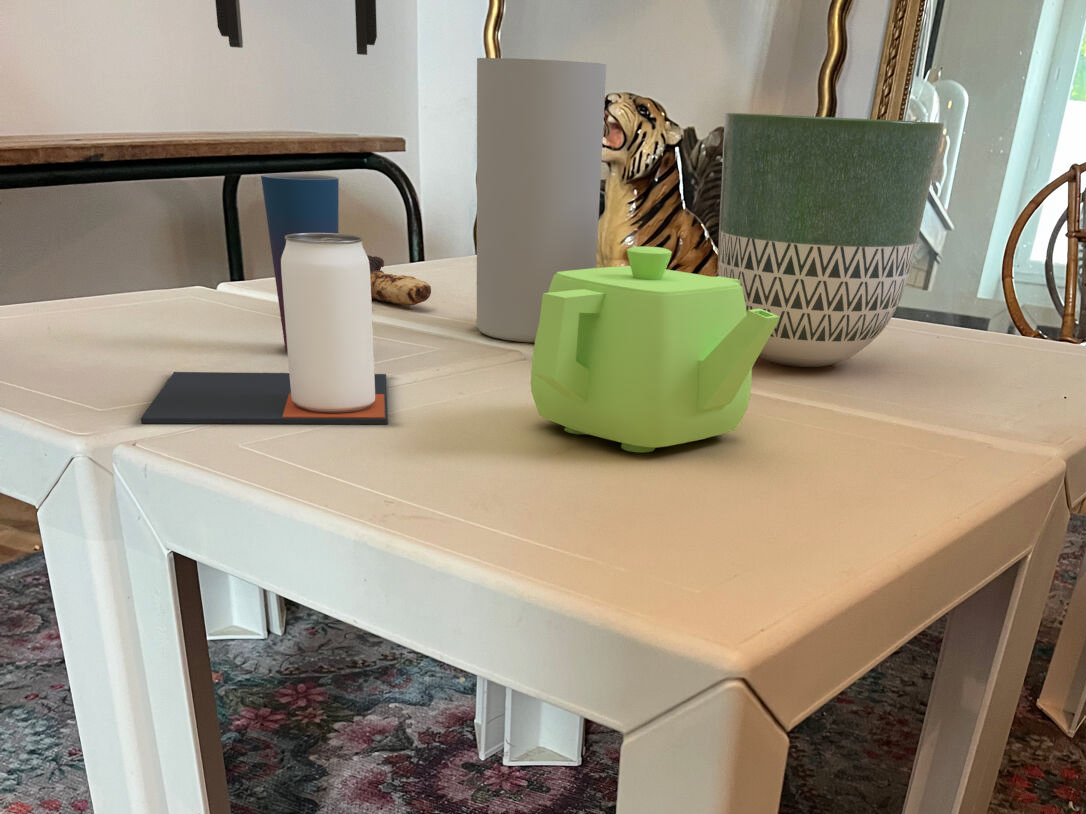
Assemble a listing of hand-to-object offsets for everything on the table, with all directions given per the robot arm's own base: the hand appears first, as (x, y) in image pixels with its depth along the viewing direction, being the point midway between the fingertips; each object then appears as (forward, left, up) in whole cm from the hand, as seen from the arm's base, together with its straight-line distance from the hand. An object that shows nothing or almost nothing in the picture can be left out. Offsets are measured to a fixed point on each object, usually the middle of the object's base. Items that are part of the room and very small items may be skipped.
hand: (299, 50), depth 78 cm
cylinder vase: (+21, +33, -24) cm, 46 cm away
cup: (-2, +22, -24) cm, 33 cm away
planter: (+46, +19, -24) cm, 55 cm away
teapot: (+25, -10, -24) cm, 36 cm away
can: (+1, -2, -24) cm, 24 cm away
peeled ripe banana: (+4, +52, -24) cm, 58 cm away
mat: (-4, +2, -24) cm, 24 cm away
